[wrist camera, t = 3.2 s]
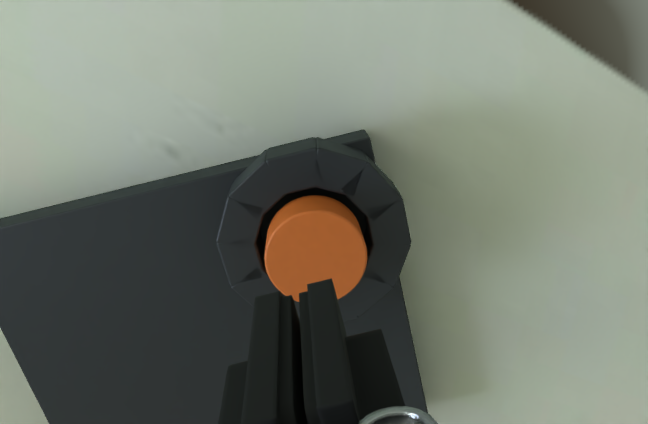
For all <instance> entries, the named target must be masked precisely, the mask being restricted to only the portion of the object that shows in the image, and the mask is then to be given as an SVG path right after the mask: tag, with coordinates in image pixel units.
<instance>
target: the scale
mask: <svg viewBox="0 0 648 424" xmlns="http://www.w3.org/2000/svg"><path fill="white" fill-rule="evenodd" d="M309 195H321V196H326V197H330V198H333V199H335V200H337V201H339V202H341V203H343V204H344V205H345V206H346V207H348V208H349V209H350V210H351V211H352V213H353V214H354V215H355V217H356V218H357V221H358V223H359V225H360V228H361V231H362V234H363V237H364V241H365V244H366V248H367V265H366V268H365V272H364V274H363V276H362V278H361V280H360V281H359V283H358V284H357V285H356V286H355V288H354V289H352V290H351V291H350V292H349V293H348V294H347V295H345V296H343V297H342V298H340V299H338V304H339V307H340V311H341V315H342V319H343V323H344V327H345V331H346V335H347V337H348V336H352V335H356V334H360V333H364V332H368V331H372V330H376V329H381V330H382V333H383V336H384V339H385V342H386V345H387V349H388V352H389V355H390V358H391V362H392V365H393V368H394V371H395V374H396V378H397V381H398V384H399V387H400V391H401V394H402V397H403V400H404V403H405V406H408V407H412V408H417V409H420V410H422V411H424V412H425V413H427V414H428V411H427V407H426V402H425V397H424V392H423V388H422V383H421V378H420V373H419V369H418V364H417V359H416V354H415V350H414V345H413V340H412V335H411V330H410V326H409V321H408V316H407V311H406V307H405V302H404V297H403V292H402V288H401V283H400V278H399V275H400V273H401V270H402V267H403V265H404V262H405V259H406V257H407V254H408V251H409V249H410V244H411V238H410V233H409V228H408V223H407V218H406V213H405V208H404V203H403V199H402V197H401V195H400V193H399V192H398V190H397V188H396V187H395V185H394V184H393V182H392V181H391V180H390V179H389V178H388V177H387V176H386V175H385V174H384V173H383V172H382V171H381V169H380V168H379V167H378V166H377V165H376V164H375V159H374V154H373V150H372V145H371V140H370V137H369V136H368V134H367V133H366V131H365V130H360V131H356V132H352V133H347V134H343V135H339V136H335V137H331V138H327V139H321V138H318V137H317V138H313V137H312V138H308V139H304V140H300V141H296V142H292V143H288V144H284V145H280V146H275V147H271V148H269V149H268V150H265V151H264V152H263V153H262V154H261V155H258V156H254V157H250V158H245V159H241V160H237V161H233V162H229V163H225V164H221V165H217V166H213V167H209V168H205V169H201V170H197V171H192V172H188V173H184V174H180V175H176V176H172V177H168V178H164V179H160V180H156V181H152V182H148V183H144V184H139V185H135V186H131V187H127V188H123V189H119V190H115V191H111V192H107V193H103V194H99V195H95V196H90V197H86V198H82V199H78V200H74V201H70V202H66V203H62V204H58V205H54V206H50V207H46V208H42V209H37V210H33V211H29V212H25V213H21V214H17V215H13V216H9V217H5V218H1V219H0V328H1V330H2V331H3V333H4V335H5V337H6V339H7V341H8V343H9V345H10V347H11V349H12V351H13V353H14V355H15V357H16V359H17V361H18V363H19V365H20V367H21V369H22V371H23V373H24V375H25V377H26V379H27V381H28V383H29V385H30V387H31V389H32V391H33V393H34V395H35V397H36V399H37V400H38V402H39V404H40V406H41V408H42V410H43V412H44V414H45V416H46V418H47V420H48V422H49V424H218V421H219V415H220V409H221V403H222V397H223V392H224V386H225V380H226V374H227V369H228V366H230V365H232V364H236V363H240V362H244V361H248V355H249V346H250V337H251V328H252V319H253V311H254V302H255V297H257V296H261V295H265V294H269V293H273V292H278V291H279V290H278V289H277V288H276V287H275V286H274V284H273V283H272V282H271V280H270V278H269V276H268V274H267V271H266V267H265V260H264V256H265V246H266V238H267V231H268V228H269V225H270V222H271V220H272V219H273V217H274V216H275V214H276V213H277V212H278V211H279V210H280V209H281V208H282V207H283V206H284V205H285V204H287V203H289V202H290V201H292V200H294V199H297V198H300V197H303V196H309ZM282 295H283V297H285V295H284V294H283V293H282ZM294 303H295V306H296V310H297V313H298V317H299V320H300V308H299V302H297V301H295V300H294Z"/></svg>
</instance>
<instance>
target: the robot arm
mask: <svg viewBox="0 0 648 424" xmlns="http://www.w3.org/2000/svg"><path fill="white" fill-rule="evenodd" d="M299 308H300V320H299V317H298V313H297V310H296V306H295V303H294V300H293V297H292V295H289V296H285V297H283V295H282V292H281V291H278V292H273V293H269V294H265V295H261V296H257V297H255V302H254V311H253V319H252V328H251V337H250V346H249V355H248V361H244V362H240V363H236V364H232V365H230V366H228V369H227V374H226V380H225V386H224V392H223V397H222V403H221V409H220V415H219V421H218V424H438V423H437V422H436V421H435V420H434V419H433V418H432V417H431V416H430V415H429V414H427V413H425V412H424V411H422V410H420V409H417V408H412V407H408V406H405V403H404V400H403V397H402V394H401V391H400V387H399V384H398V381H397V378H396V374H395V371H394V368H393V365H392V362H391V358H390V355H389V352H388V349H387V345H386V342H385V339H384V336H383V333H382V330H381V329H376V330H372V331H368V332H364V333H360V334H356V335H352V336H348V337H347V335H346V331H345V327H344V323H343V319H342V315H341V311H340V307H339V304H338V300H337V296H336V292H335V288H334V284H333V281H332V278H331V279H327V280H323V281H319V282H314V283H310V284H307V291H306V292H302V293H299Z"/></svg>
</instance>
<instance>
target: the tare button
mask: <svg viewBox="0 0 648 424" xmlns="http://www.w3.org/2000/svg"><path fill="white" fill-rule="evenodd" d="M264 260H265V267H266V271H267V274H268V276H269V278H270V280H271V282H272V283H273V284H274V286H275V287H276V288H277V289H278V290H279V291H281V292H282V293H283V294H284V295H285V296H289V295H292V297H293V300H295V301H297V302H299V293H302V292H306V291H307V284H310V283H314V282H319V281H323V280H327V279H331V278H332V281H333V284H334V288H335V292H336V296H337V300H338V299H340V298H342V297H343V296H345V295H347V294H348V293H349V292H350V291H351V290H352V289H354V288H355V286H356V285H357V284H358V283H359V281H360V280H361V278H362V276H363V274H364V272H365V268H366V265H367V248H366V244H365V241H364V237H363V234H362V231H361V228H360V225H359V223H358V221H357V218H356V217H355V215H354V214H353V213H352V211H351V210H350V209H349V208H348V207H346V206H345V205H344V204H343V203H341V202H339V201H337V200H335V199H333V198H330V197H326V196H321V195H309V196H303V197H300V198H297V199H294V200H292V201H290V202H289V203H287V204H285V205H284V206H283V207H282V208H281V209H280V210H279V211H278V212H277V213H276V214H275V216H274V217H273V219H272V220H271V222H270V225H269V228H268V231H267V238H266V246H265V256H264Z"/></svg>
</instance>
